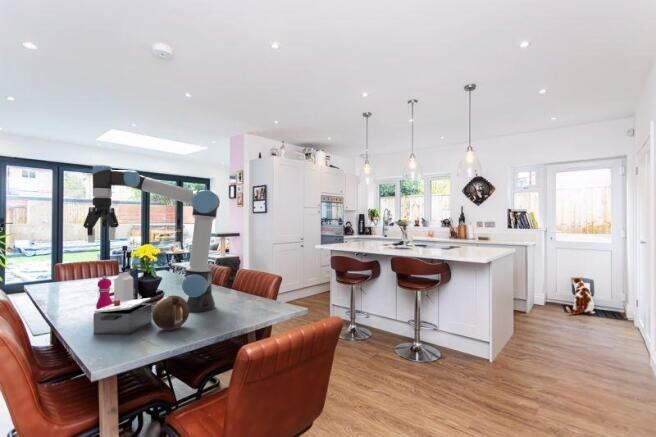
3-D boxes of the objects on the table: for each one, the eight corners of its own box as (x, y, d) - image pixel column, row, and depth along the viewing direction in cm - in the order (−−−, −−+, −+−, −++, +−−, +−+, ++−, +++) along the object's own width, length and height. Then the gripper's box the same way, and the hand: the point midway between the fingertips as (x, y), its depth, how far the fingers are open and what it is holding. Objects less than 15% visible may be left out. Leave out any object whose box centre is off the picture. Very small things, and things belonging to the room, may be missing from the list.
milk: (114, 316, 166) (113, 273, 166) (124, 313, 172) (123, 271, 171) (123, 317, 164) (123, 273, 164) (133, 313, 170) (133, 271, 170)
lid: (151, 299, 156) (151, 293, 156) (129, 309, 140) (128, 302, 140) (120, 302, 157) (119, 296, 157) (94, 312, 140) (93, 306, 140)
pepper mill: (104, 316, 165) (104, 277, 165) (92, 315, 167) (92, 276, 166) (116, 312, 172) (116, 274, 172) (104, 311, 174) (104, 274, 174)
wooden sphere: (152, 326, 150) (152, 294, 150) (187, 321, 158) (187, 290, 158) (152, 337, 137) (152, 301, 137) (191, 331, 145) (191, 297, 145)
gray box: (154, 321, 158) (154, 302, 158) (126, 336, 138) (125, 315, 138) (122, 320, 159) (122, 302, 159) (89, 336, 138) (89, 315, 138)
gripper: (112, 198, 170) (112, 239, 170) (73, 195, 145) (73, 243, 146) (126, 198, 170) (126, 239, 170) (89, 195, 145) (89, 243, 145)
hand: (102, 241), depth 158 cm, fingers open, 13 cm apart
